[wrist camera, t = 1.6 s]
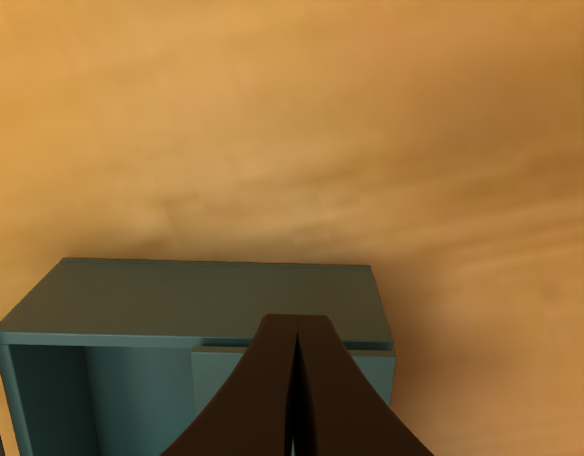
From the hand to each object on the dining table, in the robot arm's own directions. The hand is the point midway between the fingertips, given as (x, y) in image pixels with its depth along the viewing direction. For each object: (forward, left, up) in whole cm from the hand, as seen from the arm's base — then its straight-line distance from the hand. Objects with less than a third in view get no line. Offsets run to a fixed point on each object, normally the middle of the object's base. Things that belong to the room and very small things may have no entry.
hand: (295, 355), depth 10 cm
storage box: (-3, -9, -10) cm, 14 cm away
